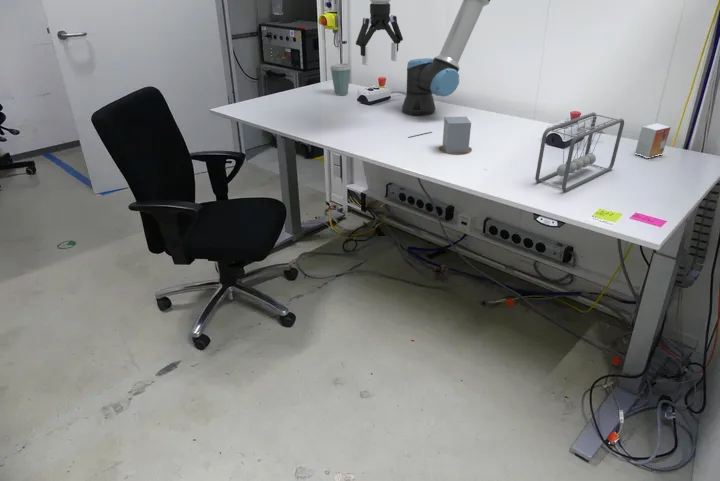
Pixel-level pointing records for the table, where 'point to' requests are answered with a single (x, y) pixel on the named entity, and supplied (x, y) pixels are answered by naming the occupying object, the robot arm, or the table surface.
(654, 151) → the small box
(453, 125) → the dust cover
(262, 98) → the table surface
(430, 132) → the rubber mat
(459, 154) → the walnut coaster
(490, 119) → the table surface
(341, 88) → the disposable coffee cup
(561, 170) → the newton's cradle
